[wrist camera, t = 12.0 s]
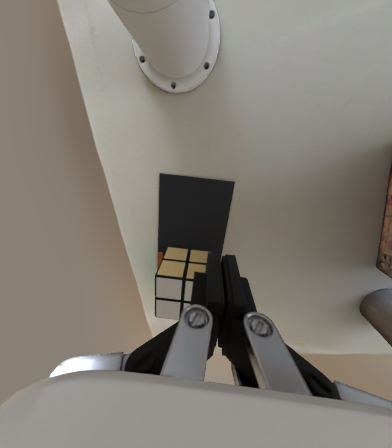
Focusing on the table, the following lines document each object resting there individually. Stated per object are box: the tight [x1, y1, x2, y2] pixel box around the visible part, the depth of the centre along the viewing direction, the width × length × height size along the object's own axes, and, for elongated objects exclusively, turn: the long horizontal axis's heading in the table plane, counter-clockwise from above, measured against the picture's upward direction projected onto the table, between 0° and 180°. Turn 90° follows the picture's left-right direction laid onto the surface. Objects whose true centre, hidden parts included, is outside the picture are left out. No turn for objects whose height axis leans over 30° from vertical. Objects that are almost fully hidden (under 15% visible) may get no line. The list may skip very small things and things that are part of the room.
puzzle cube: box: [155, 247, 212, 320], centre depth 37 cm, size 10×10×10 cm
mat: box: [158, 174, 235, 268], centre depth 39 cm, size 28×14×1 cm, turn 174°
